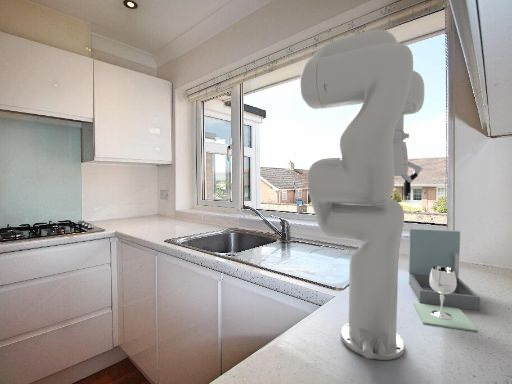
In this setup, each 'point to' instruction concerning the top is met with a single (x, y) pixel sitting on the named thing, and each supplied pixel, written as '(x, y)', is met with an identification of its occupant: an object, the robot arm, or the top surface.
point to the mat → (456, 322)
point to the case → (437, 254)
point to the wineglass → (442, 286)
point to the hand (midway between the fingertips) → (387, 195)
